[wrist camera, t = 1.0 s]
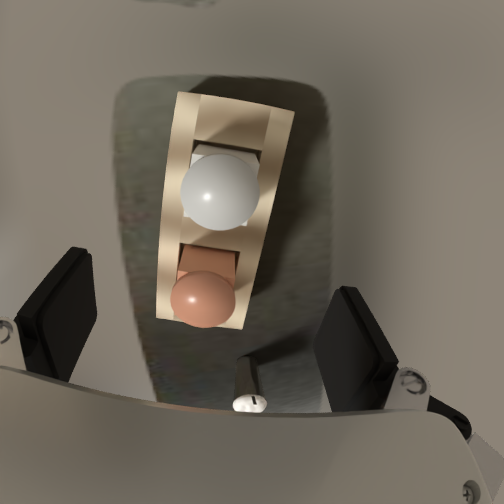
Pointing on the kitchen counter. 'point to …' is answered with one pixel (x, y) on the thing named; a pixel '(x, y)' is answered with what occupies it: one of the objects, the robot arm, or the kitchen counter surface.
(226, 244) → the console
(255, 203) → the grey button
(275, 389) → the kitchen counter surface
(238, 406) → the milkshake
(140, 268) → the kitchen counter surface
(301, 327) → the kitchen counter surface
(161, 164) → the kitchen counter surface
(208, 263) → the terracotta button
